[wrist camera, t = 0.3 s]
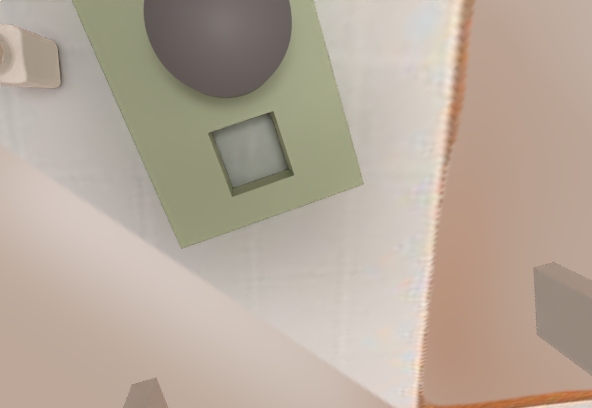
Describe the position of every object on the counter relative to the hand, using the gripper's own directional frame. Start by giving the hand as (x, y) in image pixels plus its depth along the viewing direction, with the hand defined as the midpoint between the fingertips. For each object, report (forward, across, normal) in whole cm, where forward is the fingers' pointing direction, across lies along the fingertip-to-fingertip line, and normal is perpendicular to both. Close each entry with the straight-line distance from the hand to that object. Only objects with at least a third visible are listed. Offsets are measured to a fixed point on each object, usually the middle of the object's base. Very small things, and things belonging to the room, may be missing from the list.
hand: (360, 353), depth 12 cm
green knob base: (+27, -2, +10) cm, 29 cm away
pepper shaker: (+27, -18, +16) cm, 36 cm away
